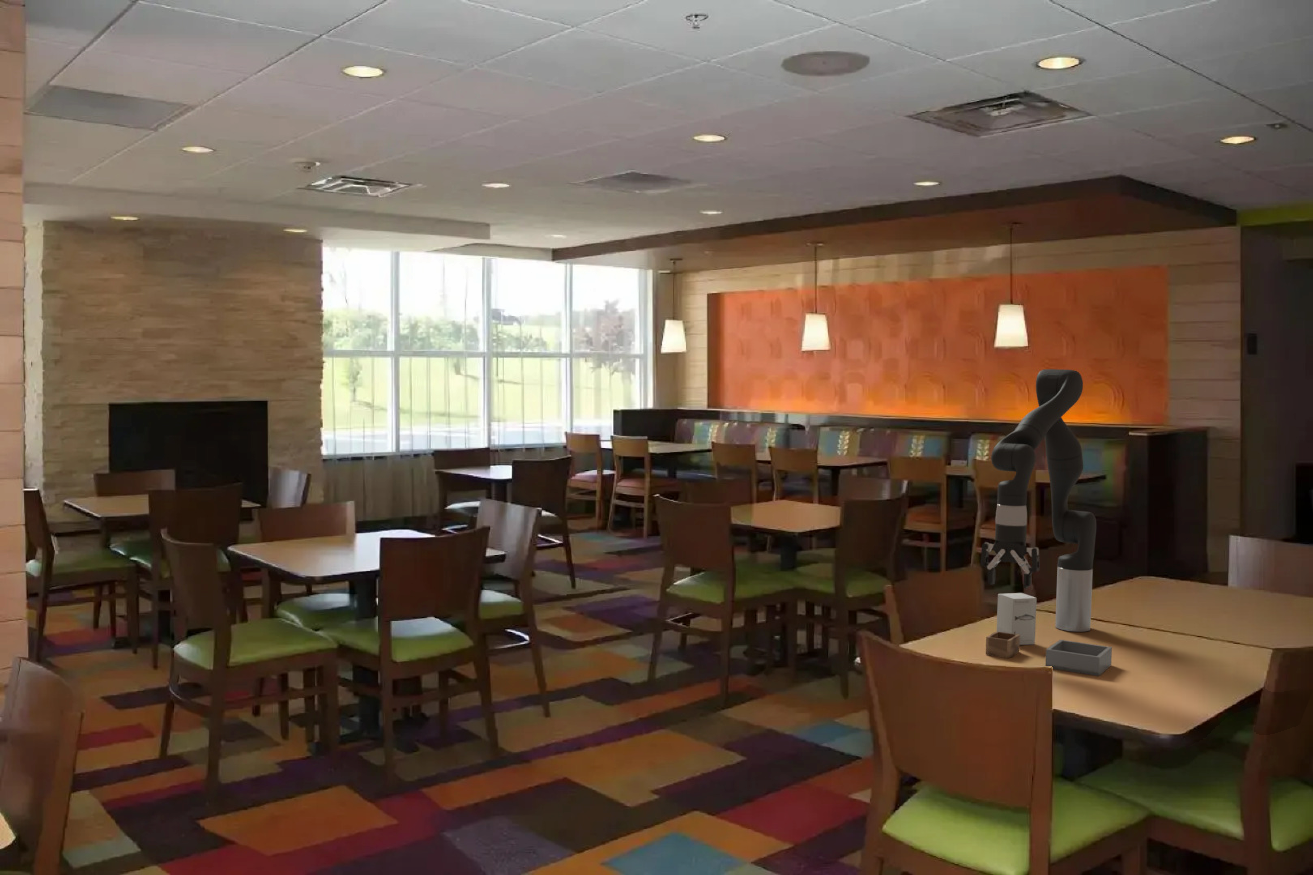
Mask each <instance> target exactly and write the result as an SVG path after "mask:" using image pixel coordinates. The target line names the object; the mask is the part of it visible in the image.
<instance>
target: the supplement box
mask: <svg viewBox="0 0 1313 875" xmlns="http://www.w3.org/2000/svg"><path fill="white" fill-rule="evenodd" d="M996 608H997V609H996V610H997V611H996V612H997V613H996V631H998V632H1005V633H1011V634H1018V635H1020V640H1019V646H1022V645H1027V646H1028V645H1035V644H1036V626H1037V625H1036V622H1037V597H1034V596H1032V595H1030V594H1026V593H1023V592H1016V593H1012V592H1011V593H1008V592H1007V593H998V594H997V607H996Z"/></svg>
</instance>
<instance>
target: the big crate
mask: <svg viewBox="0 0 1313 875" xmlns="http://www.w3.org/2000/svg"><path fill="white" fill-rule="evenodd" d="M1112 650H1113V647H1112V646H1106V645H1098V644H1092V643H1085V642H1078V641H1074V640H1073V641H1072V640H1065V639H1059V640H1057V641H1056V642H1055V643H1053V644H1051V645H1050V646H1049V647H1048V648H1046V649H1045V664H1044V665H1045V666H1052V667H1053V669H1052V670H1058V671H1065V672H1070V673H1077V674H1082V675H1089V676H1096V677H1100V676H1101V675H1102V674H1103V673H1104V672H1105V671H1106V670H1108V669H1109V668H1110V667H1111V666H1112V654H1113V652H1112ZM1045 666H1044V667H1045Z"/></svg>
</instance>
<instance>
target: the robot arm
mask: <svg viewBox="0 0 1313 875" xmlns="http://www.w3.org/2000/svg"><path fill="white" fill-rule="evenodd" d="M1082 377H1083V376H1082V375H1081V374H1080V372H1079V371H1077V370H1073V369H1057V368H1056V369H1054V368H1049V369H1048V368H1047V369H1042V370H1040V371H1039V372H1038V374H1036V378H1035V379H1036V380H1035V394H1036V399H1037V405H1038V407H1036V408H1034V409H1033V410H1031V411H1030V412H1028V413H1027V414H1026V415H1025V416H1023V418H1022V419H1021V420H1020V422H1019V423H1018V425H1017V426H1016V427H1015V429H1014V431H1012V432H1010V433H1008V434H1007V435H1006V436H1005V437H1003V438H1001V439H1000V441H998V443H997V444H996V445H995V446H994V448H993V449H992V452H991V454H990V455H991V456H990V461H991V464H992V466H993V467H994V468H995V469H996V470H998V471H1001V472H1002V471H1003V472H1014V473H1015V472H1016V473H1015V475H1014V477H1013V479H1009V480H1002V481H1000V482H999V483H998V485H997V504H996V511H995V520H994V521H995V528H994V529H995V531H994V543H989V542H988V541H987V542H986V541H985V542H984V543H982V545H981V552H980V564H979V565H980V566H981V567H984V568H986V569H987V582H988V583H989V585H995V583H996V568H995V567H997V566H998V564H999V563H1000V562H1003V563H1011V564H1016V563H1017V564H1018V566H1019V567H1021V569H1022V570H1023V571H1024V574H1023V589H1028V588H1029V587H1031V585H1032V574H1033V573H1036V572H1039V571H1040V569H1041V568H1040V567H1041V565H1040V548H1039V547H1037V546H1035V547H1028V546H1027V531H1028V530H1027V526H1028V510H1027V503H1028V502H1027V500H1028V499H1027V496H1028V488H1029V483H1030V479H1031V475H1032V473H1033V471H1034V467H1035V465H1036V459H1037V458H1036V457H1037V456H1036V452H1035V450H1036V449H1037V448H1038V447H1039V446H1040V445H1041V442H1042V441H1043V439H1044V442H1045V444H1044V446H1045V457H1046V463H1047V464H1046V465H1047V471H1048V478H1049V484H1050V492H1051V493H1050V495H1051V521H1052V522H1051V524H1052V531H1053V536H1054V538H1055V540H1057V541H1058V542H1060V543H1065V544H1066V543H1067V544H1075V545H1076V544H1077V545H1078V546H1077V550H1076V551H1074V552H1071V553H1068V554H1067V553H1066V554H1063V555H1060V556H1059V557H1058V558H1057V569H1056V570H1057V573H1056V575H1057V576H1056V599H1055V600H1056V604H1055V605H1056V606H1055V623H1054V624H1055V626H1054V627H1055V628H1057V629H1059V630H1062V631H1066V632H1067V631H1068V632H1076V633H1079V632H1081V633H1083V632H1089V631H1091V620H1092V619H1091V618H1092V598H1093V596H1092V595H1093V594H1092V592H1093V572H1094V571H1093V570H1094V569H1093V568H1094V567H1093V565H1094V558H1095V548H1096V547H1095V546H1096V535H1097V519H1096V516H1095V515H1094V513H1092V512H1090V511H1084V510H1082V511H1081V510H1073V509H1069V507H1068V506H1069V505H1068V499H1069V496H1070V494H1071V491H1072V489H1073V488H1074V486H1075V485H1076V483H1077V482H1078V480H1079V478H1080V477H1081V475H1082V473H1083V470H1084V459H1083V451H1082V446H1081V443H1080V441H1079V439H1078V438H1077V436H1076V435H1075V434H1074V433H1073V431H1072V430H1071V428H1070V427H1069V426H1068V425H1067V424H1066V422H1065V421H1064V420H1063V418H1062V417H1063V416H1065V414H1066V413H1067V412H1068V411H1069V410H1070V409H1071V408H1072V407H1073V406H1074V405H1075V404H1076V403H1077V402H1078V401H1079V399H1080V397H1081V396H1082V394H1083V390H1084V389H1083V388H1084V382H1083V381H1084V380H1083V378H1082ZM992 550H993V551H994V553H995V556H994V557H993V559H992V560H991V561H990V562H989V557H990V556H989V554H990V552H991V551H992ZM1027 553H1028V554H1029V556H1030V558H1031V565H1030V564H1029V562H1028V560H1027V559H1026V557H1025V555H1027Z"/></svg>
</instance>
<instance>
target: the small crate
mask: <svg viewBox="0 0 1313 875" xmlns="http://www.w3.org/2000/svg"><path fill="white" fill-rule="evenodd" d="M985 638H986V640H985V655H986V656H991V655H993V656H992V657H999V658H1004V657H1007V658H1006V659H1011V658H1012V657H1014V656H1016V655H1017V654H1018V653H1019V652H1020V645H1019V640H1020V635H1018V634H1011V633H1005V632H998V631H997V630H996V631H995V632H992V633H991V634H989V635H987V636H986V637H985ZM1010 657H1011V658H1010Z"/></svg>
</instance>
